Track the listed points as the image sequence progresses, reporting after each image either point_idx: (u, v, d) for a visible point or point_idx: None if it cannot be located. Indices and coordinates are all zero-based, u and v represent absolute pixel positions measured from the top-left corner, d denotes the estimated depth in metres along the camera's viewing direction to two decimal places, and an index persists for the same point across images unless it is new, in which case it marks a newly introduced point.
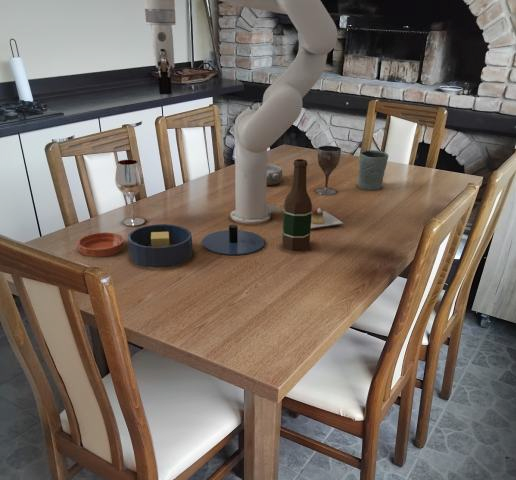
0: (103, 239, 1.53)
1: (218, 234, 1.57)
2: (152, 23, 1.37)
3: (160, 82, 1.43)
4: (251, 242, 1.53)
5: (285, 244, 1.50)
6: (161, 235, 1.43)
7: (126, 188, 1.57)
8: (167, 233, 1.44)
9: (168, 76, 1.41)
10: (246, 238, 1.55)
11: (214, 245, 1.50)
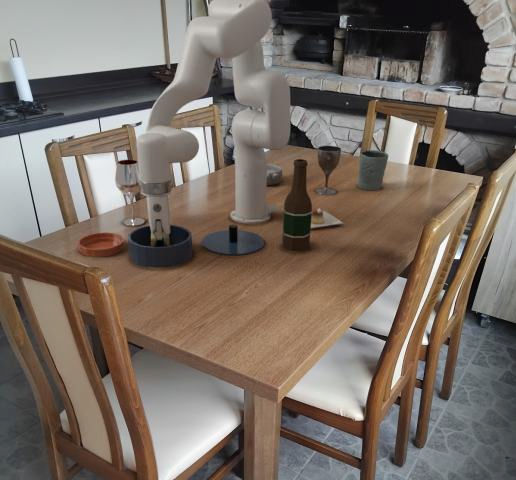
0: (103, 239, 1.53)
1: (218, 234, 1.57)
2: (147, 195, 1.34)
3: None
4: (251, 242, 1.53)
5: (285, 244, 1.50)
6: None
7: (126, 188, 1.57)
8: None
9: (164, 245, 1.41)
10: (246, 238, 1.55)
11: (214, 245, 1.50)
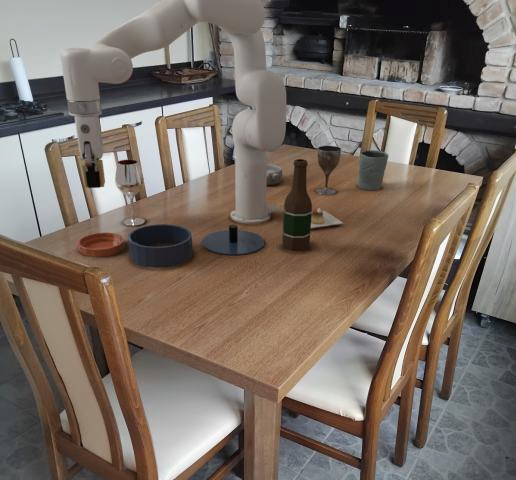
0: (103, 239, 1.53)
1: (218, 234, 1.57)
2: (74, 114, 1.27)
3: (88, 176, 1.35)
4: (251, 242, 1.53)
5: (285, 244, 1.50)
6: None
7: (126, 188, 1.57)
8: (100, 161, 1.37)
9: (96, 171, 1.34)
10: (246, 238, 1.55)
11: (214, 245, 1.50)
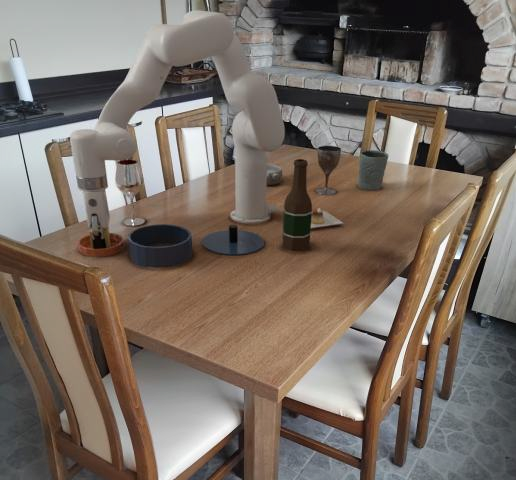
0: None
1: (218, 234, 1.57)
2: (83, 189, 1.37)
3: (94, 243, 1.44)
4: (251, 242, 1.53)
5: (285, 244, 1.50)
6: None
7: (126, 188, 1.57)
8: None
9: (102, 239, 1.43)
10: (246, 238, 1.55)
11: (214, 245, 1.50)
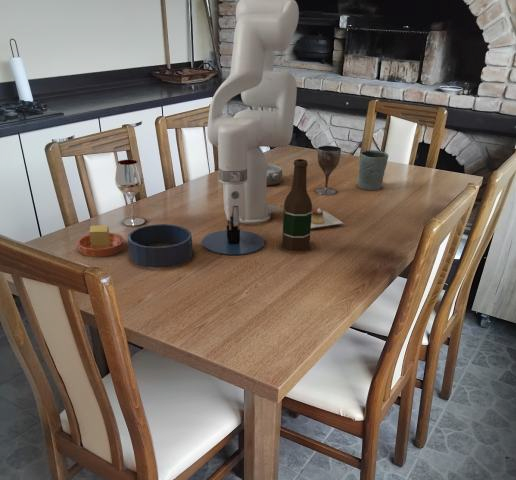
0: None
1: (218, 234, 1.57)
2: (226, 182, 1.41)
3: (230, 234, 1.50)
4: (251, 242, 1.53)
5: (285, 244, 1.50)
6: (100, 228, 1.46)
7: (126, 188, 1.57)
8: (106, 226, 1.47)
9: (238, 230, 1.49)
10: (246, 238, 1.55)
11: (214, 245, 1.50)
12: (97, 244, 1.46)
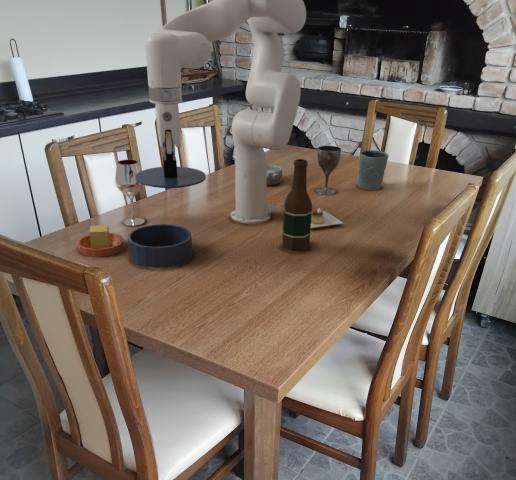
0: None
1: (155, 170, 1.40)
2: (156, 102, 1.24)
3: (165, 165, 1.33)
4: (190, 176, 1.36)
5: (285, 244, 1.50)
6: (100, 228, 1.46)
7: (126, 188, 1.57)
8: (106, 226, 1.47)
9: (174, 161, 1.32)
10: (186, 173, 1.38)
11: (148, 178, 1.33)
12: (97, 244, 1.46)
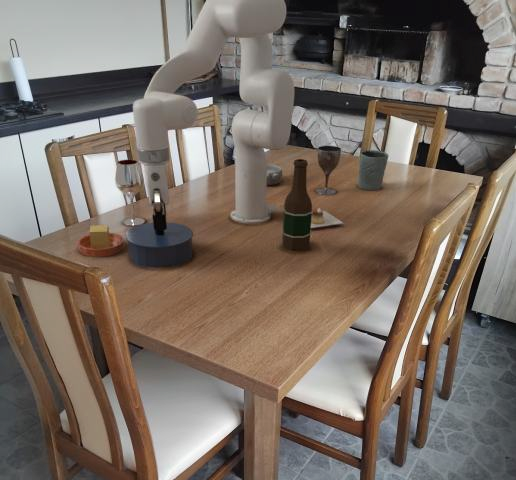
0: None
1: (145, 226, 1.47)
2: (145, 163, 1.30)
3: (154, 219, 1.35)
4: (178, 234, 1.42)
5: (285, 244, 1.50)
6: (100, 228, 1.46)
7: (126, 188, 1.57)
8: (106, 226, 1.47)
9: (163, 214, 1.34)
10: (174, 230, 1.45)
11: (137, 237, 1.40)
12: (97, 244, 1.46)
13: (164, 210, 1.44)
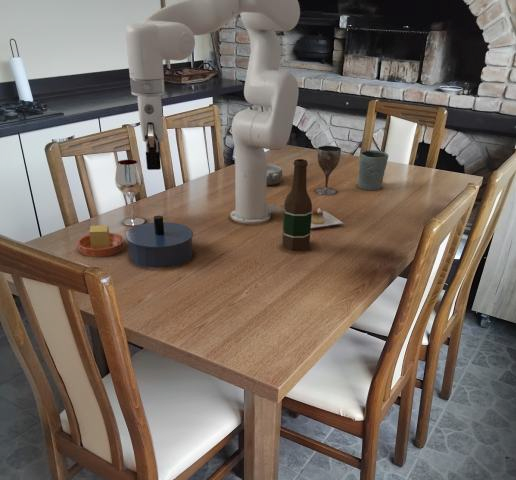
0: None
1: (145, 226, 1.47)
2: (138, 94, 1.21)
3: (148, 157, 1.27)
4: (178, 234, 1.42)
5: (285, 244, 1.50)
6: (100, 228, 1.46)
7: (126, 188, 1.57)
8: (106, 226, 1.47)
9: (156, 151, 1.26)
10: (174, 230, 1.45)
11: (137, 237, 1.40)
12: (97, 244, 1.46)
13: None
